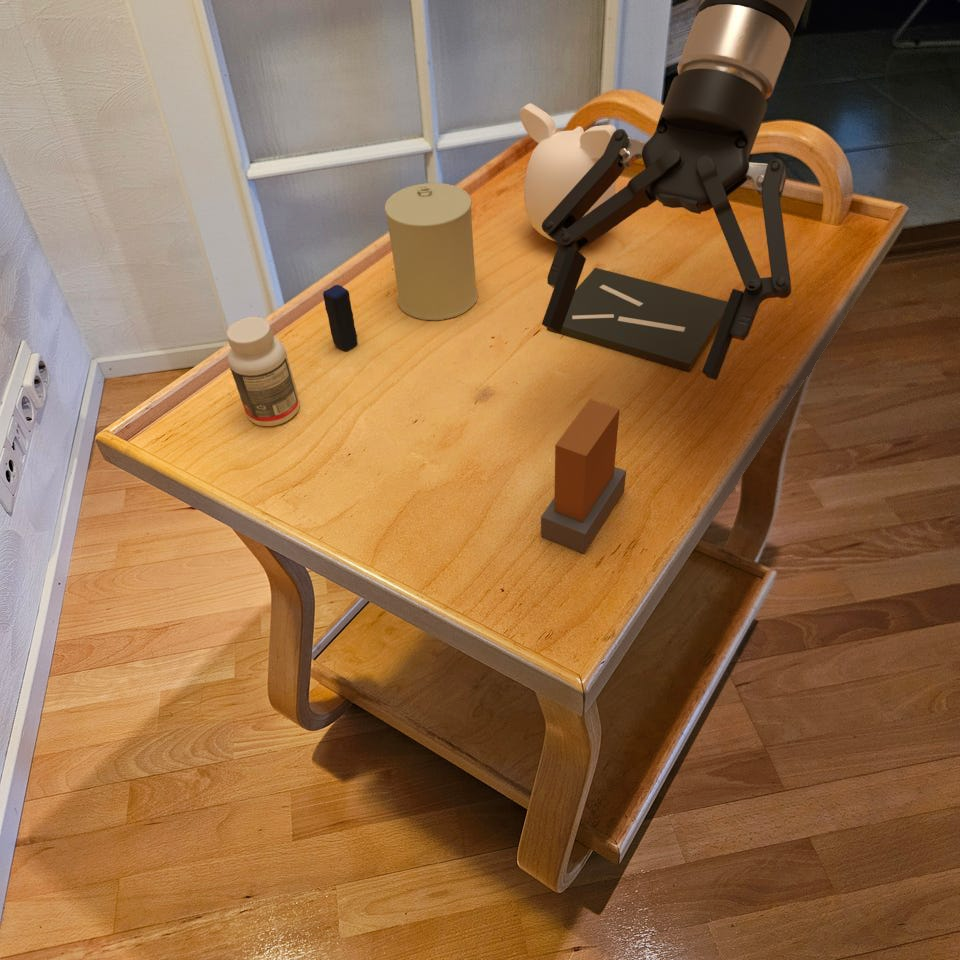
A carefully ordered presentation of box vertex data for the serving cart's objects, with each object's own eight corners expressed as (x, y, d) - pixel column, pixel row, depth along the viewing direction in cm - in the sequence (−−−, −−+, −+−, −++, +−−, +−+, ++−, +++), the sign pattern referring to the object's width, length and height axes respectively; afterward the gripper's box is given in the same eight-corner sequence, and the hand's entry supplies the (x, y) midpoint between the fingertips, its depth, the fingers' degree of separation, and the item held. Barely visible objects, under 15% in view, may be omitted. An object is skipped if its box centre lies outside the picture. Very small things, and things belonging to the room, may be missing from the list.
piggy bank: (629, 218, 104) (639, 96, 94) (600, 266, 97) (607, 139, 86) (537, 204, 108) (537, 85, 98) (503, 248, 101) (498, 125, 90)
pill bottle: (245, 398, 84) (218, 317, 77) (298, 388, 84) (276, 307, 77) (247, 433, 80) (219, 351, 73) (303, 422, 81) (280, 340, 74)
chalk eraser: (624, 491, 72) (633, 403, 65) (584, 554, 67) (589, 467, 60) (582, 475, 74) (587, 388, 66) (540, 536, 69) (540, 450, 62)
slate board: (729, 309, 90) (730, 301, 89) (688, 371, 83) (690, 363, 82) (594, 274, 96) (595, 266, 95) (546, 329, 89) (546, 321, 88)
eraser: (332, 345, 89) (320, 291, 84) (348, 336, 90) (337, 282, 85) (344, 353, 88) (333, 299, 83) (360, 344, 89) (350, 289, 84)
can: (468, 269, 98) (461, 172, 90) (486, 312, 92) (480, 212, 83) (392, 282, 97) (377, 185, 89) (404, 327, 91) (390, 227, 82)
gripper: (888, 137, 62) (786, 404, 64) (588, 86, 72) (508, 320, 74) (894, 90, 55) (780, 391, 58) (561, 41, 65) (474, 300, 67)
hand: (626, 352), depth 66 cm, fingers open, 13 cm apart
